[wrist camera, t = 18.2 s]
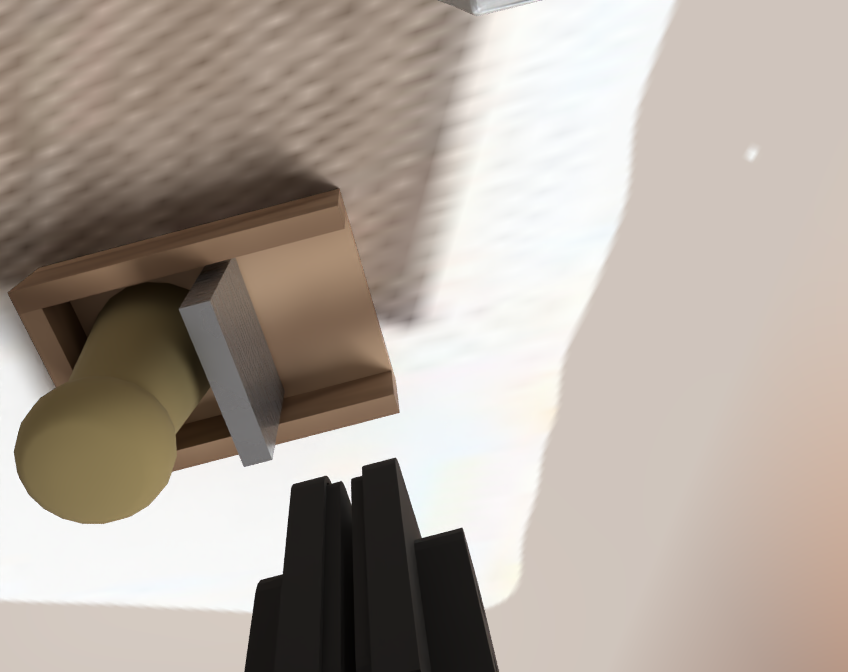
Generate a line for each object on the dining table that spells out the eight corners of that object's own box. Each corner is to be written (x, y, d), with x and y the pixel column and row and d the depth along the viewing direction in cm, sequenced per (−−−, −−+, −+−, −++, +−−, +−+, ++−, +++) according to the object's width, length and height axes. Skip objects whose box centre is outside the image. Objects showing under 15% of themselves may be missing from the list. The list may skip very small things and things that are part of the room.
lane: (39, 267, 33) (7, 292, 30) (339, 188, 33) (338, 205, 30) (127, 450, 37) (107, 488, 34) (395, 380, 37) (399, 412, 34)
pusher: (208, 260, 33) (178, 308, 27) (233, 253, 33) (209, 300, 27) (260, 397, 36) (243, 467, 30) (284, 391, 35) (272, 459, 30)
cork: (90, 389, 35) (-18, 540, 25) (98, 270, 32) (-17, 382, 22) (219, 409, 36) (167, 562, 26) (236, 295, 34) (186, 413, 23)
